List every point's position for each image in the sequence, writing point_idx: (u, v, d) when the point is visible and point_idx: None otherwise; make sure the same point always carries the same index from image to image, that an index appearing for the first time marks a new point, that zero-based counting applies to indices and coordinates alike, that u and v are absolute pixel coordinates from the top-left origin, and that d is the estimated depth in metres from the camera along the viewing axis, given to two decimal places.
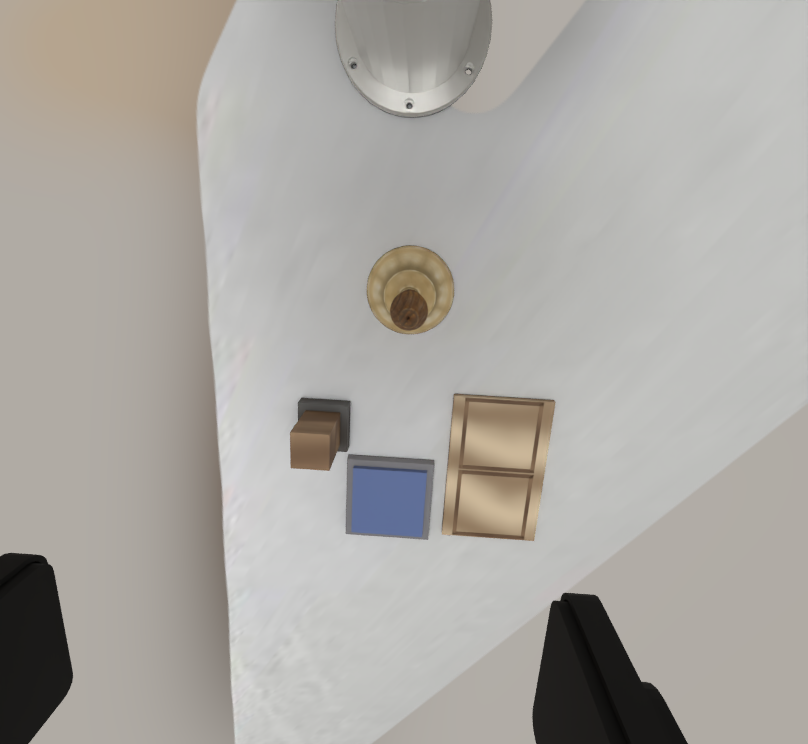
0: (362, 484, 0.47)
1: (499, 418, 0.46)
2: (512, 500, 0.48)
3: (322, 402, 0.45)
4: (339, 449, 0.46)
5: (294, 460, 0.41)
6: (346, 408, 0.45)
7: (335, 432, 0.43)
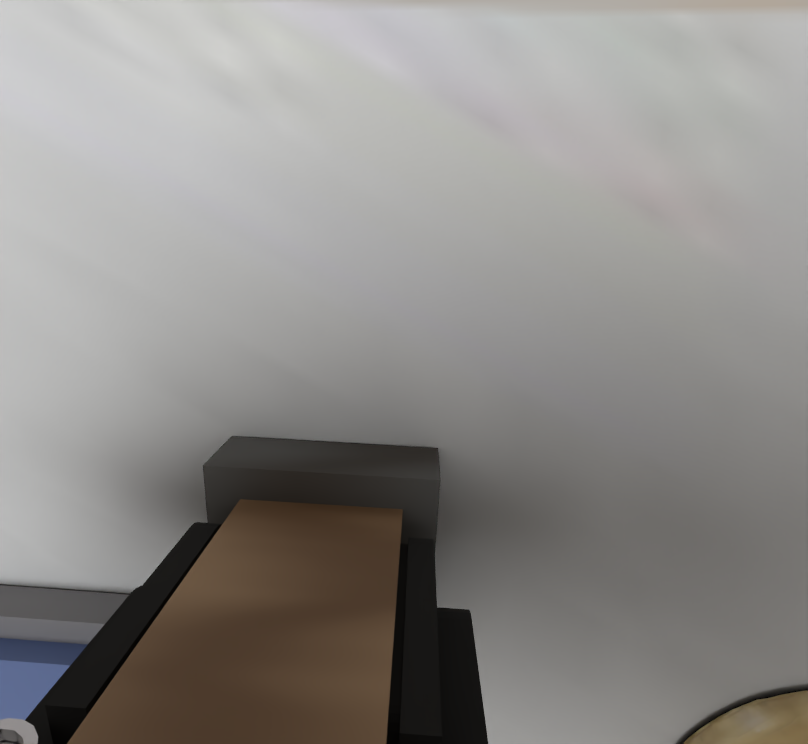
0: None
1: None
2: None
3: None
4: None
5: None
6: None
7: None
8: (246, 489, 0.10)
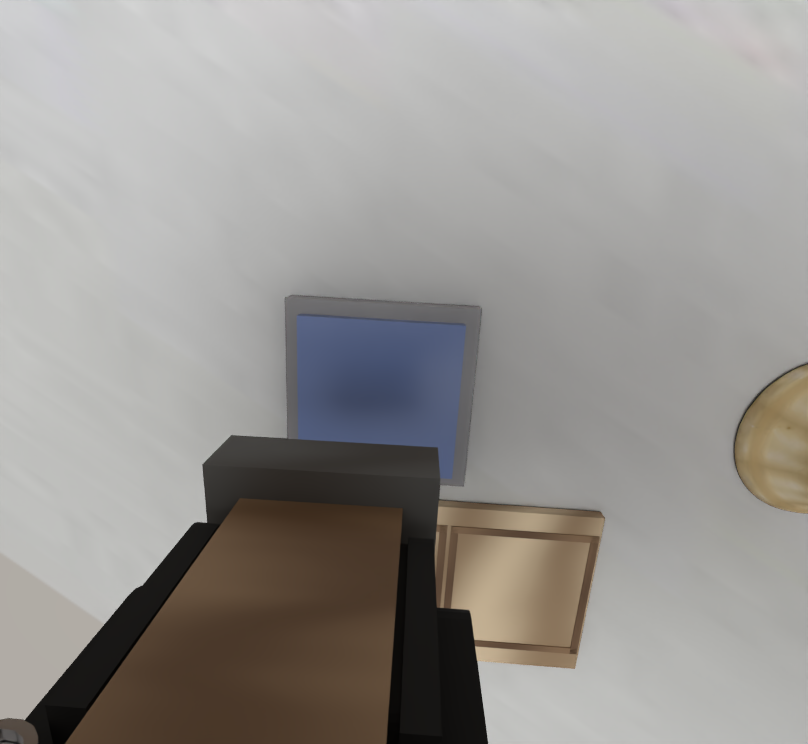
0: (423, 345, 0.20)
1: (552, 590, 0.25)
2: None
3: None
4: None
5: None
6: None
7: None
8: (245, 488, 0.10)
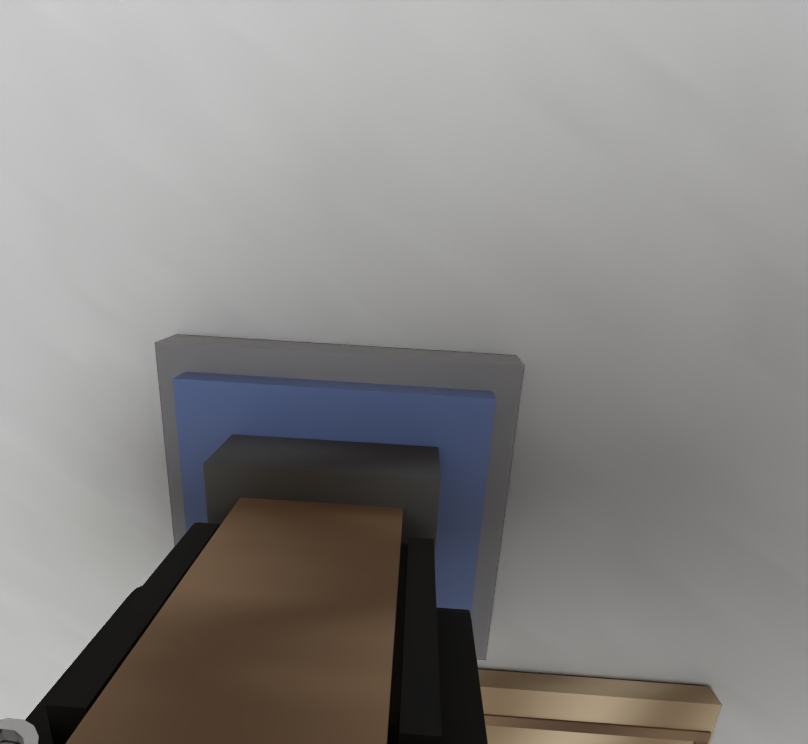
0: (415, 433, 0.11)
1: None
2: None
3: None
4: None
5: None
6: None
7: None
8: (246, 488, 0.10)
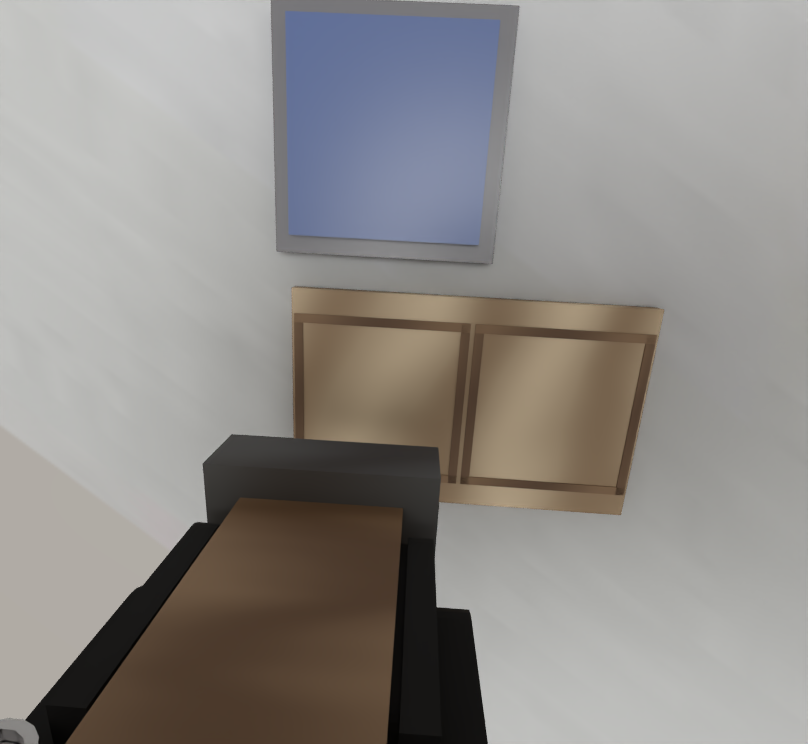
0: (446, 50, 0.16)
1: (596, 409, 0.21)
2: (393, 443, 0.21)
3: None
4: None
5: None
6: None
7: None
8: (245, 487, 0.10)
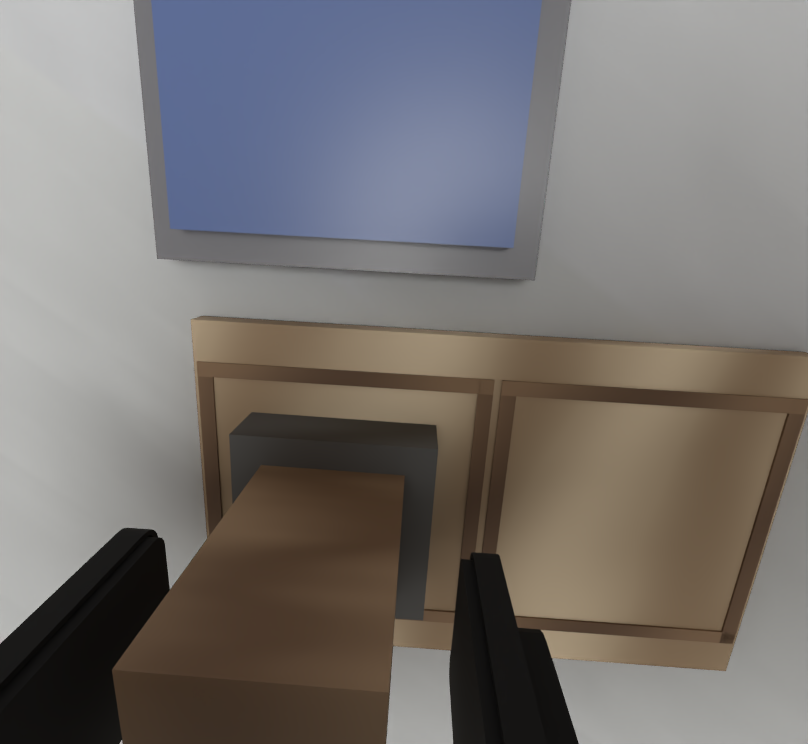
0: None
1: (697, 516, 0.13)
2: None
3: (430, 526, 0.12)
4: None
5: (175, 694, 0.06)
6: (413, 615, 0.12)
7: None
8: (266, 456, 0.11)
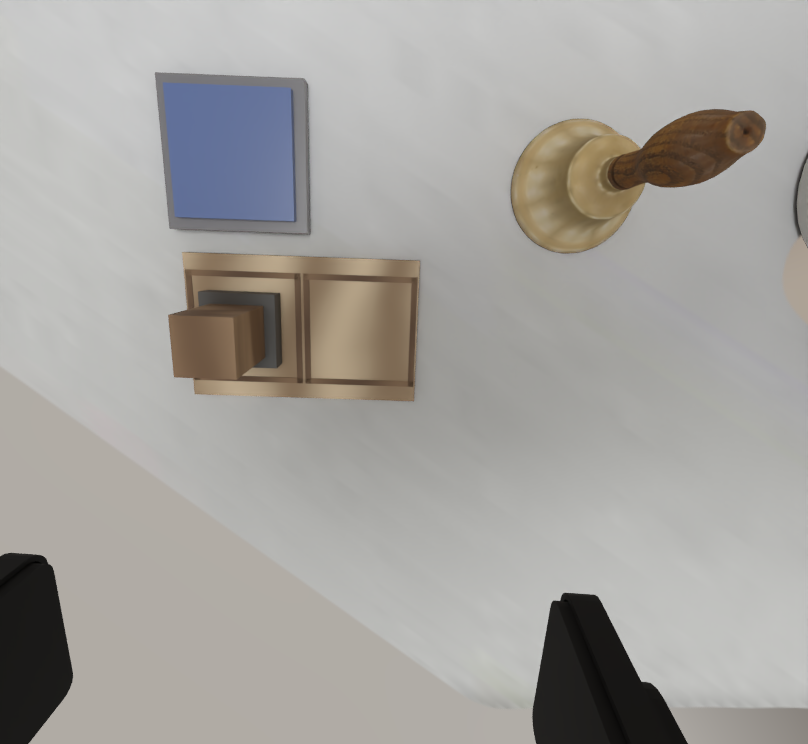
0: (260, 104, 0.27)
1: (387, 328, 0.32)
2: None
3: (276, 329, 0.31)
4: None
5: (183, 321, 0.25)
6: (272, 366, 0.31)
7: None
8: (211, 299, 0.30)
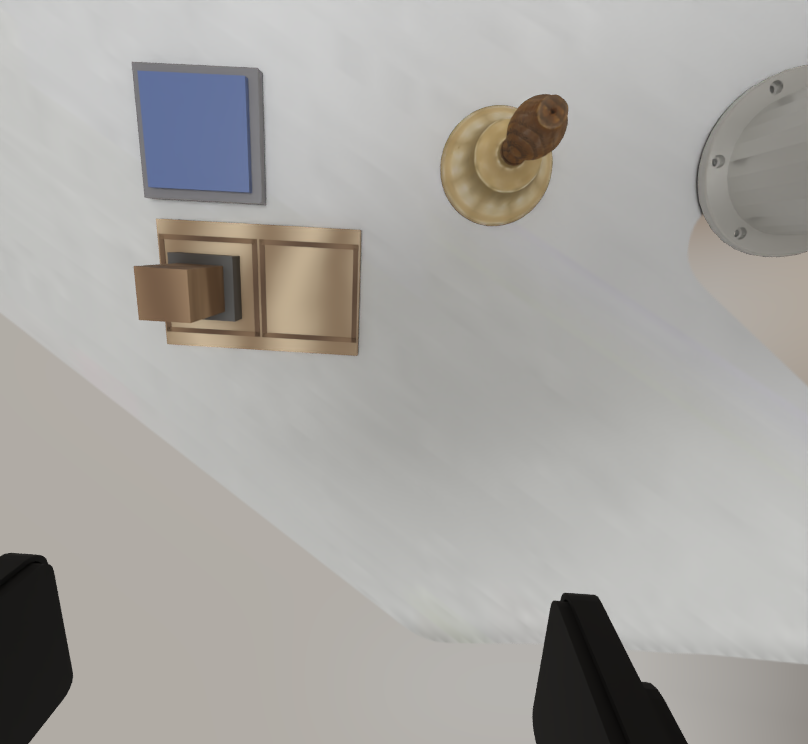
0: (220, 90, 0.32)
1: (333, 289, 0.36)
2: None
3: (235, 287, 0.35)
4: None
5: (146, 272, 0.29)
6: (231, 319, 0.36)
7: None
8: (179, 259, 0.35)
